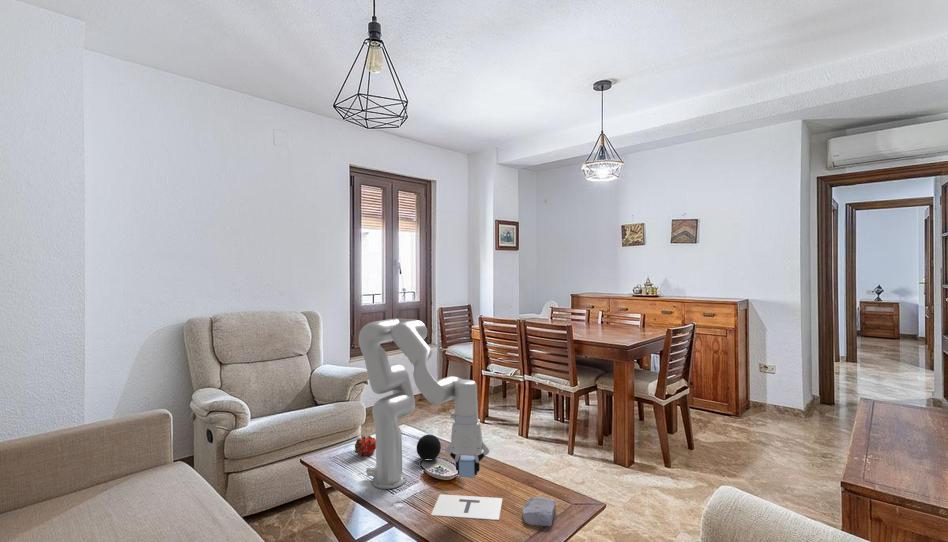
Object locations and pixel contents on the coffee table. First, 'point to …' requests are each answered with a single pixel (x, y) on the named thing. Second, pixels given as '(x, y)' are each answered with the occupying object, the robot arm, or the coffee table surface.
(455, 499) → the letter sheet
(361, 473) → the coffee table surface
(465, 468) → the blue cube
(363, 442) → the dragon fruit
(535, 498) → the stone block
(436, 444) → the decorative ball
